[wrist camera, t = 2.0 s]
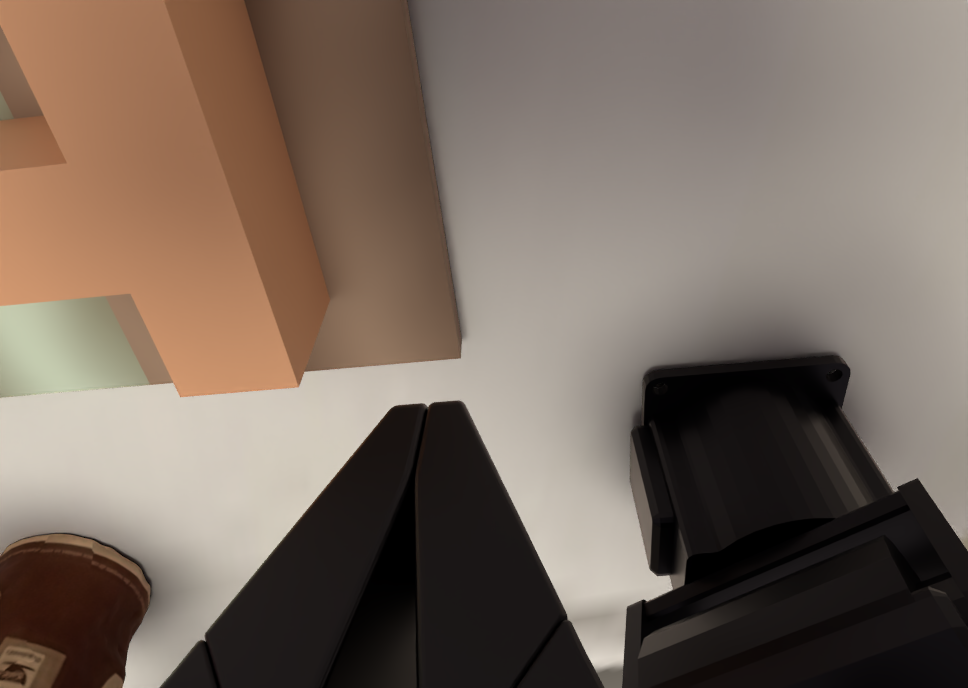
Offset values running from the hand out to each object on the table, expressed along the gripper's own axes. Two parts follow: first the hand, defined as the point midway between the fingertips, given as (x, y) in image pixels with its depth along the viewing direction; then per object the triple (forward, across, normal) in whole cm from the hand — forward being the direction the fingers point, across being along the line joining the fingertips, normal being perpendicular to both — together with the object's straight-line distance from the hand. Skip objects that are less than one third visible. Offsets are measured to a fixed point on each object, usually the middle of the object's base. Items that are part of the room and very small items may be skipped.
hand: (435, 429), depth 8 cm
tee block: (+11, +9, 0) cm, 14 cm away
